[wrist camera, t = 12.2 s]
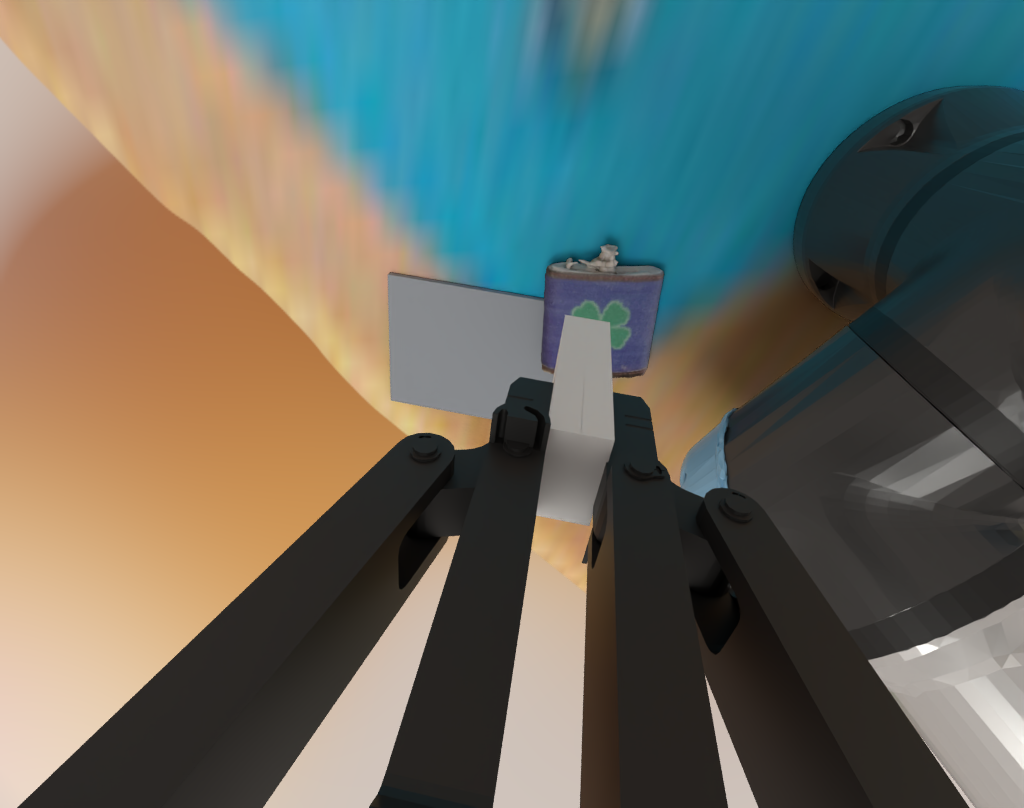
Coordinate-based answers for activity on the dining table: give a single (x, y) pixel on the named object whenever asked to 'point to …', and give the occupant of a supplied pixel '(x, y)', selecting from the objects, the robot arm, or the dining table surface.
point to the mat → (460, 344)
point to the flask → (603, 307)
